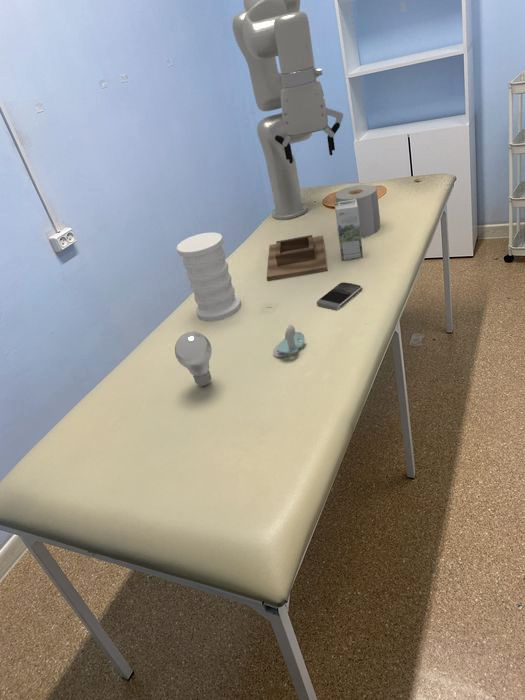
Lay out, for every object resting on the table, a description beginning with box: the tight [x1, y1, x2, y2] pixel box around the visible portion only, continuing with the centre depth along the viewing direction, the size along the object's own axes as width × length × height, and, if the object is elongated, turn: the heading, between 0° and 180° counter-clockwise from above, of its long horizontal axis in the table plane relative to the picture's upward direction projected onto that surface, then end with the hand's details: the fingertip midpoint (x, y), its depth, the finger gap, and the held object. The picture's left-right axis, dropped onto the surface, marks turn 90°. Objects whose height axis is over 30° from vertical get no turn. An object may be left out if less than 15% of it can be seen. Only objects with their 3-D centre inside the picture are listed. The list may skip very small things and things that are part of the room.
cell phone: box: [316, 281, 363, 311], centre depth 117 cm, size 6×11×1 cm, turn 137°
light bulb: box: [174, 331, 213, 387], centre depth 96 cm, size 7×7×12 cm
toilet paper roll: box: [334, 184, 381, 239], centre depth 145 cm, size 12×12×12 cm
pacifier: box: [272, 324, 306, 358], centre depth 102 cm, size 7×6×6 cm
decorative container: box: [176, 232, 242, 322], centre depth 120 cm, size 12×12×18 cm
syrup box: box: [334, 199, 364, 262], centre depth 130 cm, size 6×6×14 cm
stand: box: [266, 234, 328, 282], centre depth 139 cm, size 22×16×4 cm
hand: (311, 158), depth 120 cm, fingers open, 9 cm apart
